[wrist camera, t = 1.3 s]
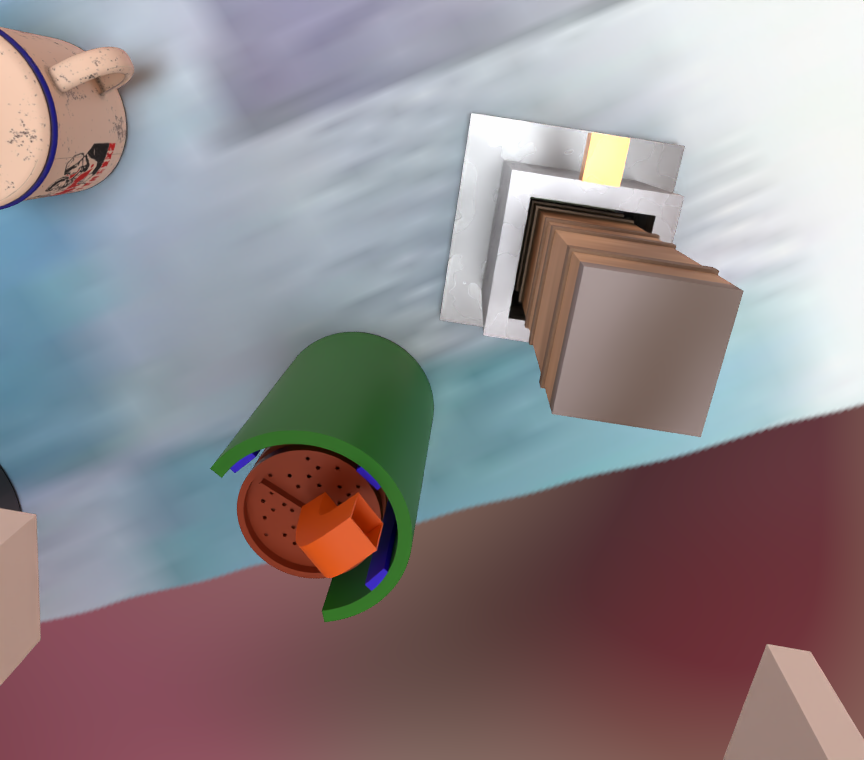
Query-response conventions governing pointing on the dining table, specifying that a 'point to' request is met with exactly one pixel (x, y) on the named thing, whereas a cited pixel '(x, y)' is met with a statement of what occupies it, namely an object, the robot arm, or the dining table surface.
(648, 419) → the column
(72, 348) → the dining table surface
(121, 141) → the teacup with lid
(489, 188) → the stand base
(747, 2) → the dining table surface
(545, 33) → the dining table surface
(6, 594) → the robot arm
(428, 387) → the motor
